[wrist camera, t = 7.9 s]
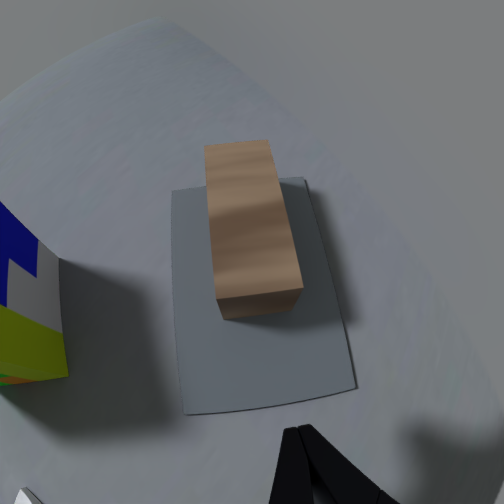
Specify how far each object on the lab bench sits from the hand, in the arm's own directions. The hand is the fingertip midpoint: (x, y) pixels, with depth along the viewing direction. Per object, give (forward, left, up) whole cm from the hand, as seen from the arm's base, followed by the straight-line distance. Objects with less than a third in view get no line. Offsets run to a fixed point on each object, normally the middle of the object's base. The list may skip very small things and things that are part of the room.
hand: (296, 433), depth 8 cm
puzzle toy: (+11, +18, -10) cm, 23 cm away
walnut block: (+6, -1, -7) cm, 9 cm away
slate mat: (+9, -2, -10) cm, 13 cm away
